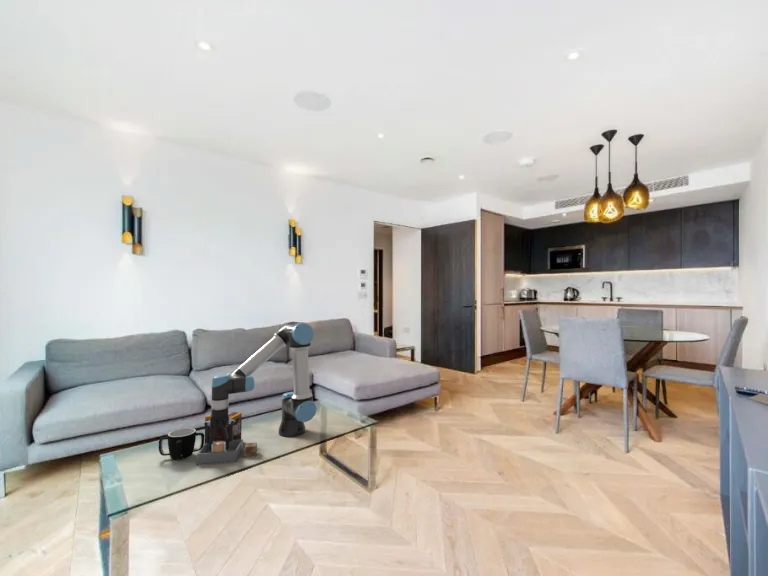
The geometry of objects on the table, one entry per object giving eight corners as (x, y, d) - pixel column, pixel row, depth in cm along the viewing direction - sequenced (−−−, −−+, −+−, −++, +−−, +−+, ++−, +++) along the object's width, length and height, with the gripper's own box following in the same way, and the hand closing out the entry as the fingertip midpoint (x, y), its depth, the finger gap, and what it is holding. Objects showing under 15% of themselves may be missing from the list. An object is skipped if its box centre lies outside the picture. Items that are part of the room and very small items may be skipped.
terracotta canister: (225, 455, 177) (225, 440, 177) (223, 459, 172) (223, 444, 172) (214, 456, 175) (214, 441, 176) (212, 460, 171) (212, 445, 171)
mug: (188, 447, 188) (188, 424, 189) (207, 454, 180) (207, 429, 181) (155, 459, 174) (155, 434, 175) (174, 467, 166) (174, 440, 166)
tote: (242, 449, 186) (242, 439, 186) (236, 462, 171) (236, 451, 171) (206, 451, 183) (206, 441, 183) (196, 465, 168) (196, 454, 168)
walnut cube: (256, 452, 183) (257, 442, 183) (255, 456, 178) (255, 446, 178) (246, 453, 182) (246, 443, 182) (244, 457, 177) (244, 447, 177)
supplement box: (230, 448, 187) (230, 418, 187) (204, 446, 190) (204, 416, 190) (241, 441, 197) (242, 412, 197) (216, 439, 200) (217, 410, 200)
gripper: (240, 404, 180) (240, 452, 179) (202, 406, 177) (201, 454, 176) (237, 409, 172) (236, 458, 172) (197, 411, 169) (196, 461, 168)
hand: (219, 456), depth 174 cm, fingers closed on terracotta canister, 5 cm apart
